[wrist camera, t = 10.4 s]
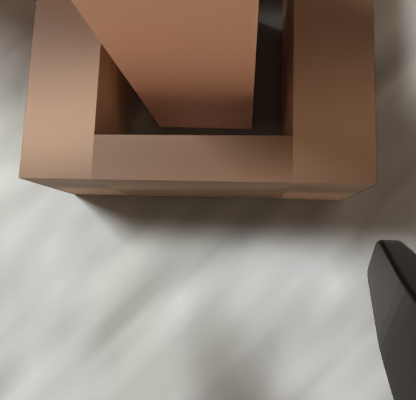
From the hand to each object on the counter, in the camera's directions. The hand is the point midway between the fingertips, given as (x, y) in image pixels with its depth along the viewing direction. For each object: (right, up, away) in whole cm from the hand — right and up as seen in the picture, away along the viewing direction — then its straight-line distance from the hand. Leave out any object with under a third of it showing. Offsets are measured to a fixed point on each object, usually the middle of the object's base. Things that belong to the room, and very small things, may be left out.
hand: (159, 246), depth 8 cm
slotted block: (+1, +7, +8) cm, 11 cm away
